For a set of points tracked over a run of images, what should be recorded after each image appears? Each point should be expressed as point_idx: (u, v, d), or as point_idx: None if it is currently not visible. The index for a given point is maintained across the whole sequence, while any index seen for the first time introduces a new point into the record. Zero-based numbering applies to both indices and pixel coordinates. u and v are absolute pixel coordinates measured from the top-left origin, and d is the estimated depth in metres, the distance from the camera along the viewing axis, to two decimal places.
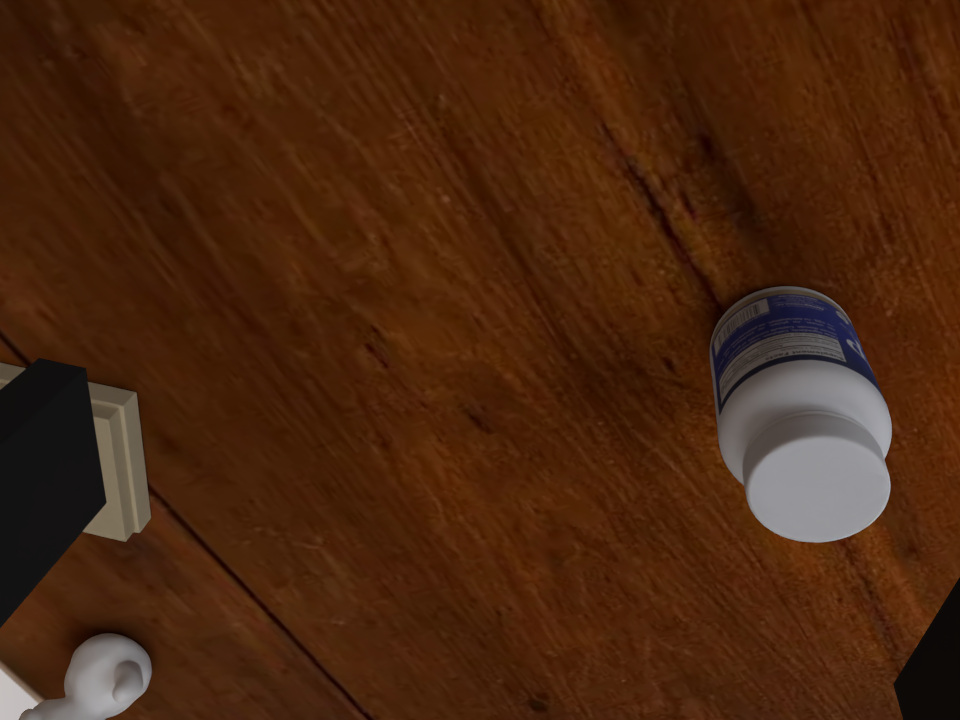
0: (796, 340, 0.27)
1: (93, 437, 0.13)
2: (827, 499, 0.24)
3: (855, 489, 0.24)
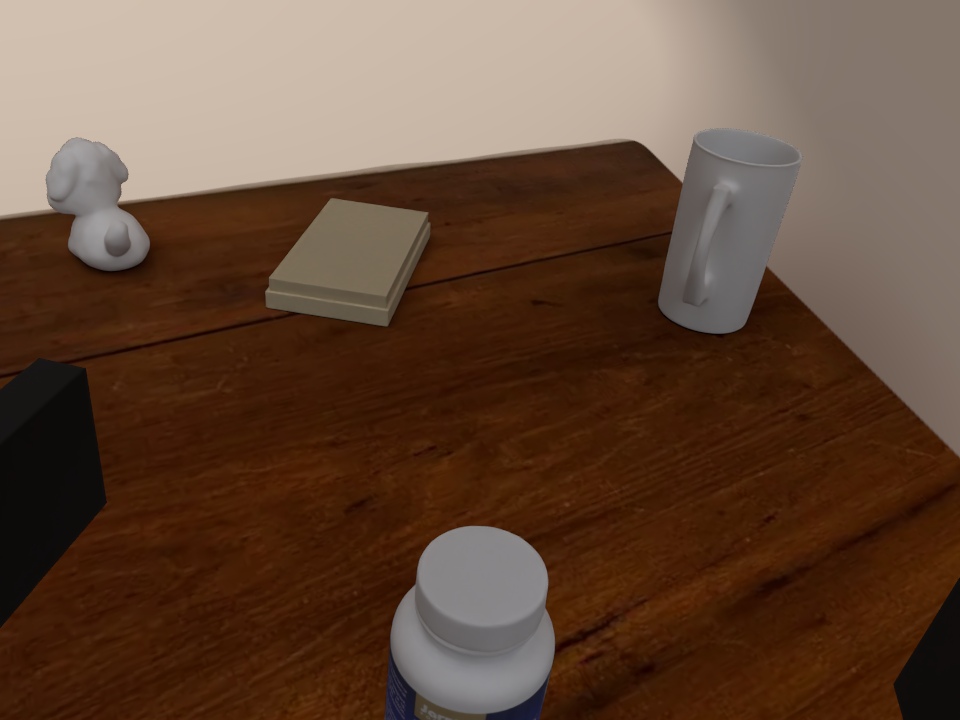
0: None
1: (93, 437, 0.13)
2: (476, 579, 0.25)
3: (492, 598, 0.24)
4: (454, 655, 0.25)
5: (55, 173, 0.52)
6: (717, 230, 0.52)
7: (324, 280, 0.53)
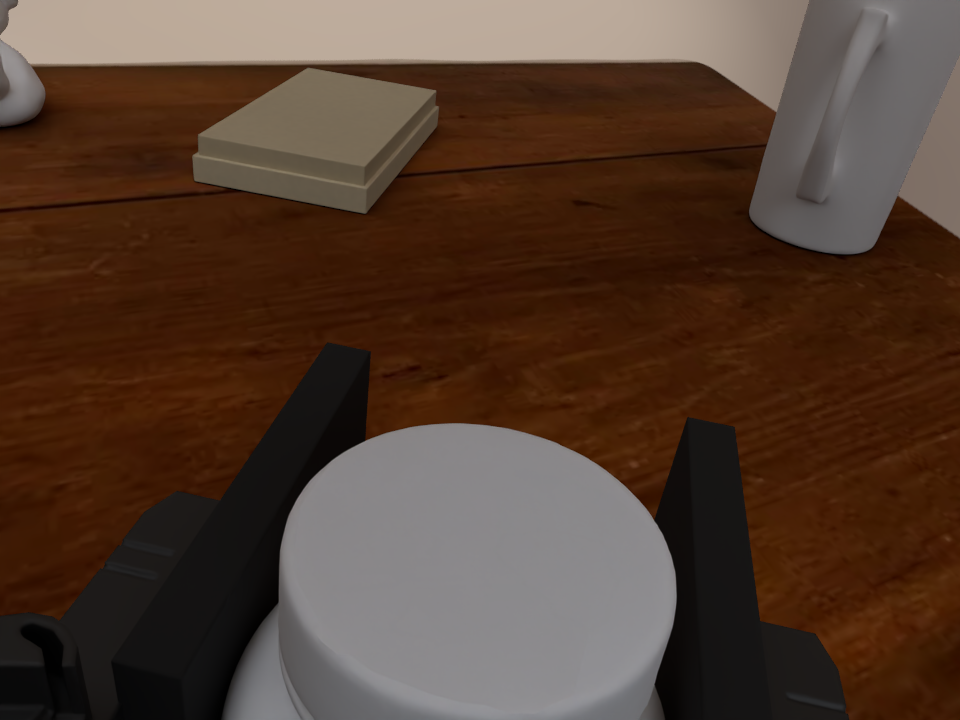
0: None
1: (363, 415, 0.14)
2: (458, 561, 0.08)
3: (505, 622, 0.07)
4: None
5: None
6: None
7: (278, 143, 0.37)
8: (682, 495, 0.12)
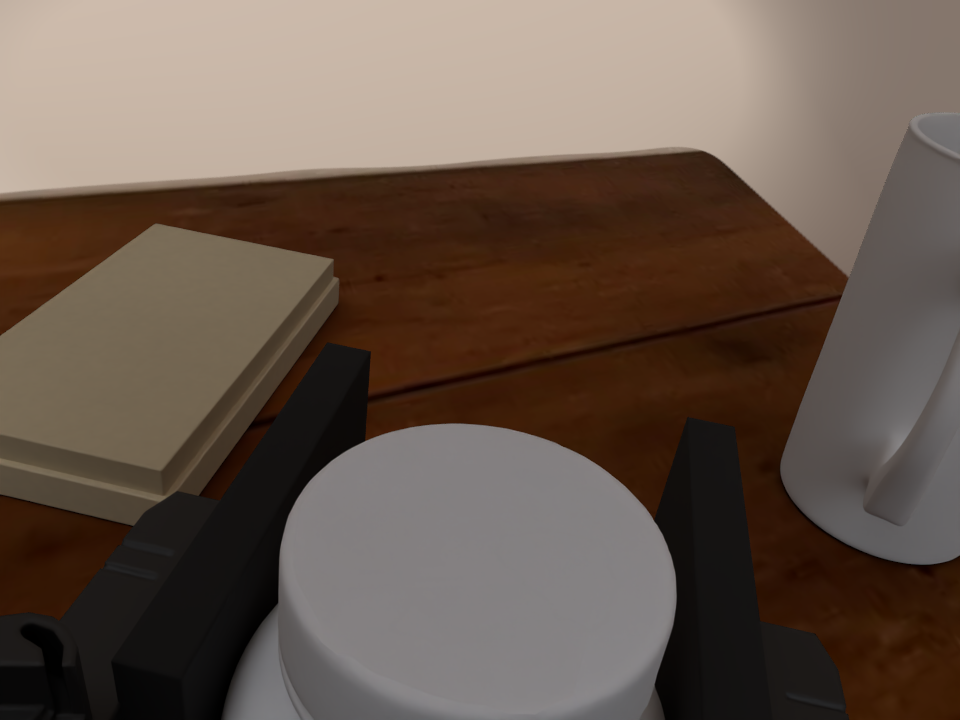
0: None
1: (363, 415, 0.14)
2: (458, 562, 0.08)
3: (505, 622, 0.07)
4: None
5: None
6: None
7: (31, 419, 0.23)
8: (682, 495, 0.12)
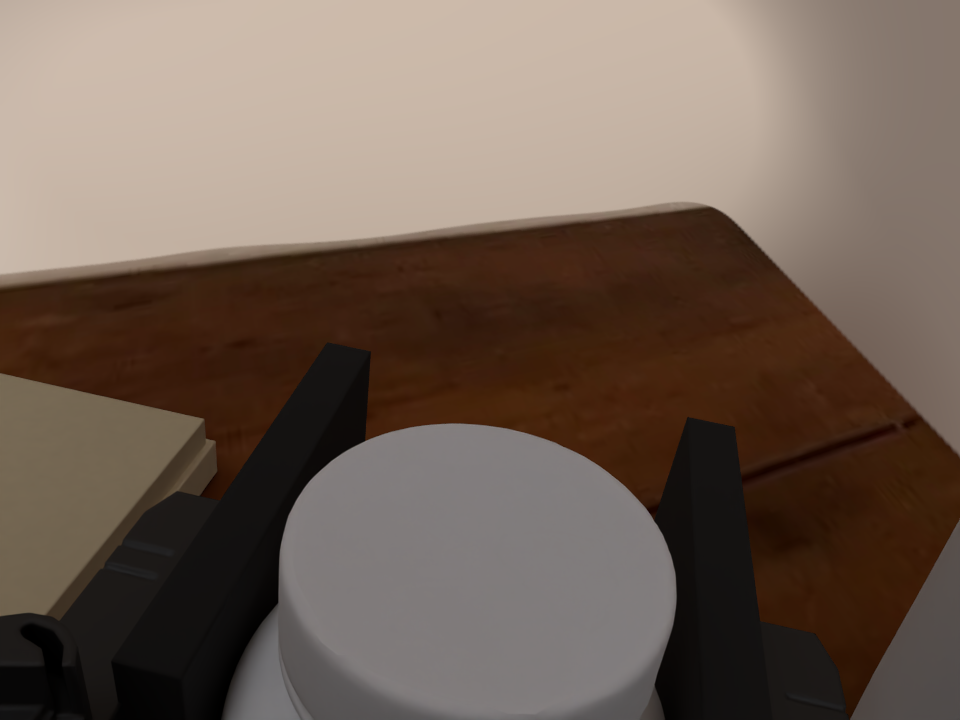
0: None
1: (363, 414, 0.14)
2: (458, 562, 0.08)
3: (505, 622, 0.07)
4: None
5: None
6: None
7: None
8: (682, 495, 0.12)
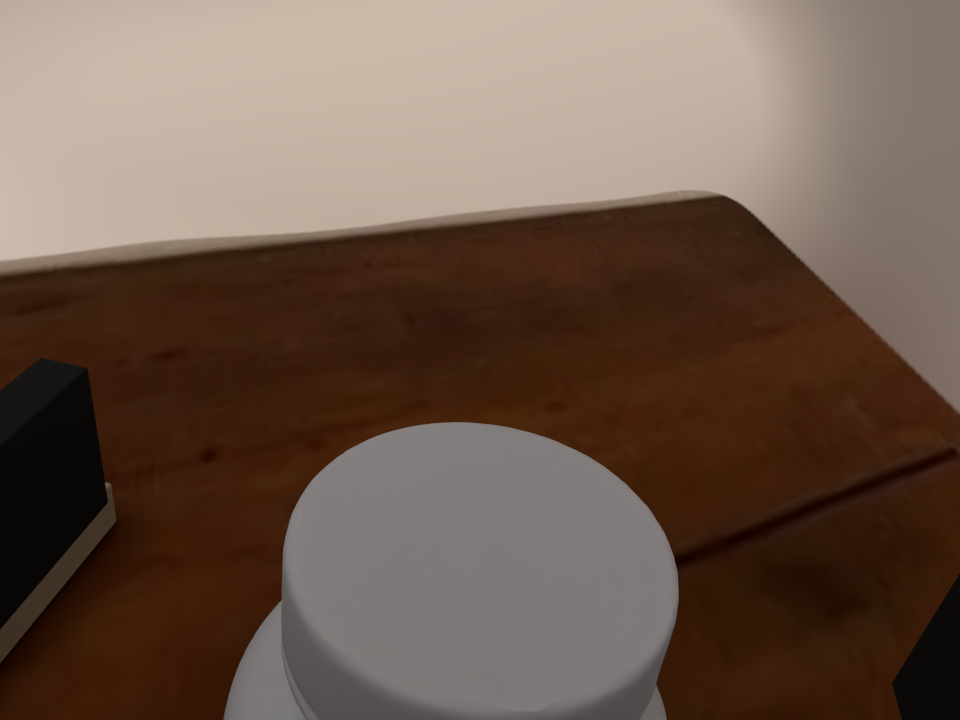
0: None
1: (95, 437, 0.13)
2: (461, 559, 0.08)
3: (507, 620, 0.08)
4: None
5: None
6: None
7: None
8: None
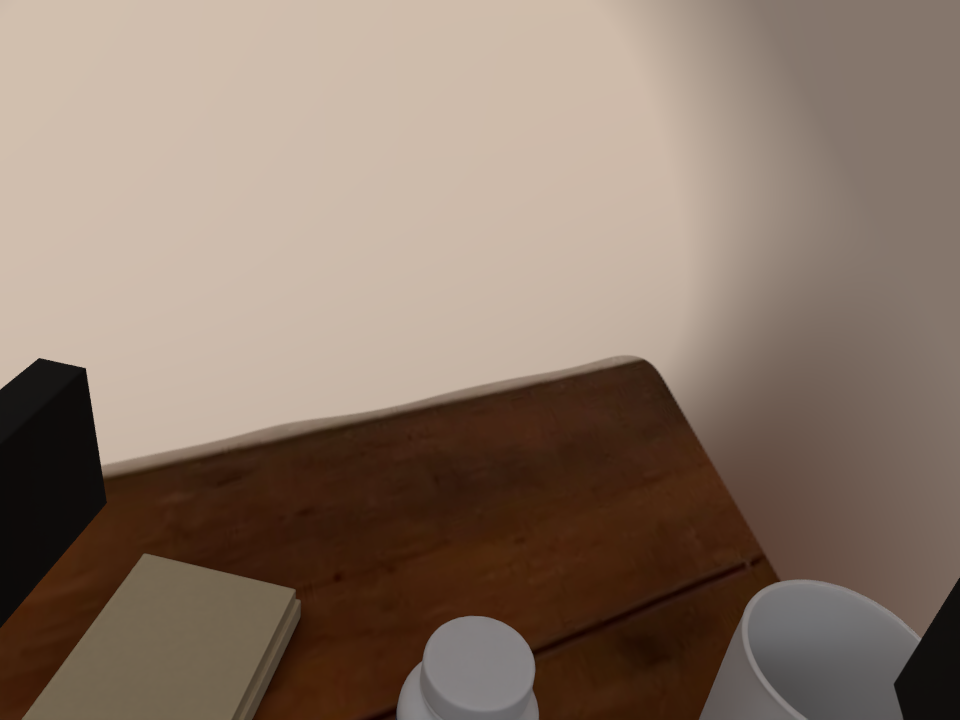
0: None
1: (94, 437, 0.13)
2: (473, 667, 0.29)
3: (485, 685, 0.28)
4: None
5: None
6: None
7: None
8: None
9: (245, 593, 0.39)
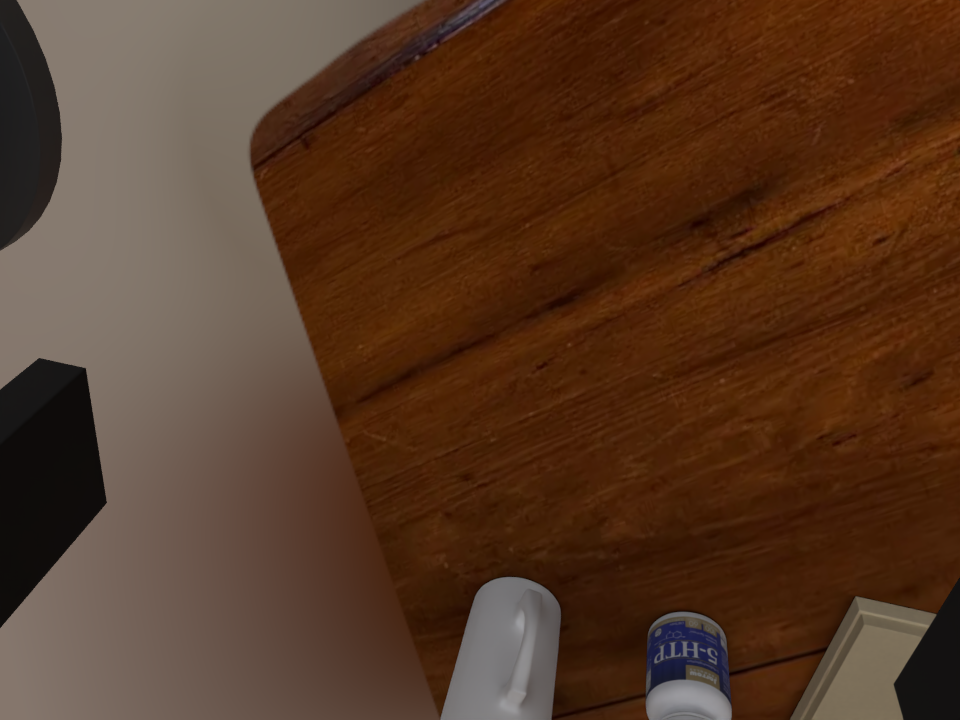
0: None
1: (93, 437, 0.13)
2: None
3: None
4: (703, 710, 0.51)
5: None
6: (514, 665, 0.51)
7: None
8: None
9: None
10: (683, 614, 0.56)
